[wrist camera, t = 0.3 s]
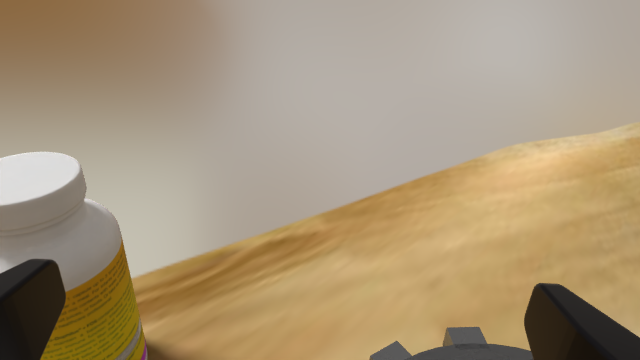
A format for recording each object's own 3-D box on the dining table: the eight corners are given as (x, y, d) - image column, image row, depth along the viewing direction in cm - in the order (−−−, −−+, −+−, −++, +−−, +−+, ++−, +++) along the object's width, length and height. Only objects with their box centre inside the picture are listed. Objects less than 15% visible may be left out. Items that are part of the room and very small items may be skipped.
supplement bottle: (170, 340, 28) (136, 150, 22) (106, 447, 22) (35, 233, 16) (70, 321, 29) (10, 134, 23) (-15, 419, 23) (-128, 207, 17)
